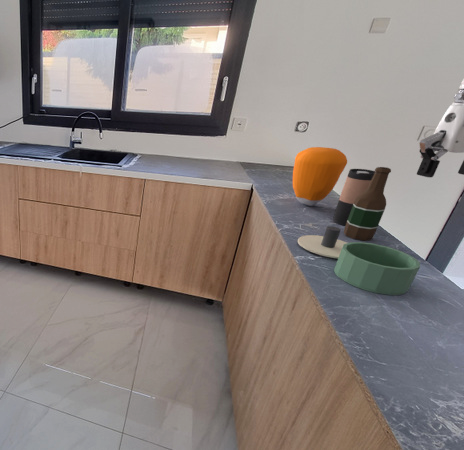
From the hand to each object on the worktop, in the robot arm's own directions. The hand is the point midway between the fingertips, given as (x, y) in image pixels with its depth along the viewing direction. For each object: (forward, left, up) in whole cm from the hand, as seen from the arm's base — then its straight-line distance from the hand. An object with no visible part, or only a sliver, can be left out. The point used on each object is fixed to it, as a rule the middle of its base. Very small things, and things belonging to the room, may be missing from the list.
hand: (445, 175), depth 74 cm
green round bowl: (+8, +4, -28) cm, 29 cm away
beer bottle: (-1, -27, -28) cm, 39 cm away
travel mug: (-2, -40, -28) cm, 49 cm away
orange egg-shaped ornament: (+5, -59, -28) cm, 65 cm away
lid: (+12, -13, -28) cm, 33 cm away
